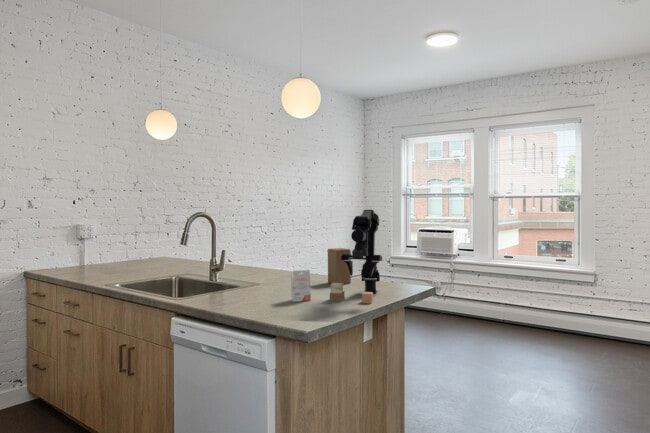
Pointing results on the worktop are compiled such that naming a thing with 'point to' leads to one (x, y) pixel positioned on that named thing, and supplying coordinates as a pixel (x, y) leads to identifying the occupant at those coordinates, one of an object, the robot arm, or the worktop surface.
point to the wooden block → (338, 266)
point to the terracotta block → (367, 297)
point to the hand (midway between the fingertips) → (361, 276)
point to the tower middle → (336, 287)
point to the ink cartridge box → (300, 286)
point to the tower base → (337, 296)
